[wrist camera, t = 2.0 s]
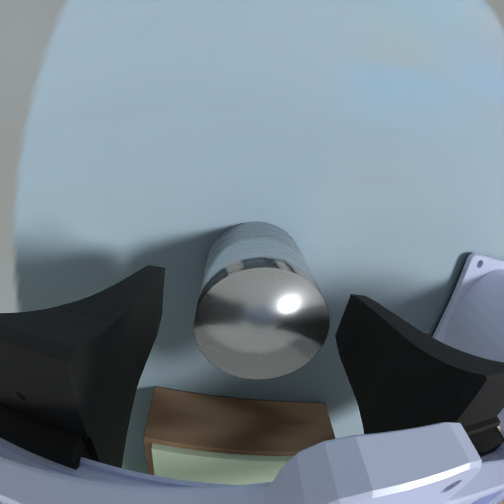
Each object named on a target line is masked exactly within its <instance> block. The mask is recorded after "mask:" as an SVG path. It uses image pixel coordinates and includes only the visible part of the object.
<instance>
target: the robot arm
mask: <svg viewBox="0 0 504 504" xmlns="http://www.w3.org/2000/svg"><path fill="white" fill-rule="evenodd" d="M478 262H479V263H478ZM477 263H478V264H477ZM164 272H165V268H162V267H156V266H150V265H148V266H146V267H144V268H143V269H141V270H139V271H138V272H136V273H134V274H133V275H131V276H129V277H127V278H126V279H124V280H122V281H121V282H119V283H117V284H115V285H113V286H111V287H109V288H107V289H105V290H103V291H101V292H99V293H97V294H94V295H92V296H90V297H87V298H84V299H82V300H79V301H76V302H72V303H69V304H65V305H61V306H58V307H54V308H49V309H44V310H37V311H30V312H20V313H0V504H499V503H501V502H502V501H504V261H503V260H500V259H496V258H492V257H489V256H485V255H481V254H478V253H471V254H470V255H469V256H468V258H467V260H466V262H465V265H464V268H463V270H462V273H461V275H460V278H459V280H458V283H457V285H456V287H455V290H454V292H453V294H452V297H451V299H450V301H449V303H448V306H447V308H446V310H445V312H444V314H443V316H442V318H441V320H440V322H439V325H438V327H437V329H436V331H435V332H434V334H433V336H432V337H430V336H428V335H427V334H425V333H423V332H421V331H420V330H418V329H417V328H415V327H413V326H412V325H410V324H409V323H407V322H405V321H404V320H402V319H401V318H399V317H398V316H396V315H395V314H393V313H392V312H391V311H389V310H388V309H386V308H385V307H383V306H382V305H380V304H378V303H377V302H375V301H374V300H372V299H370V298H368V297H366V296H362V295H353V294H351V296H350V298H349V301H348V304H347V307H346V309H345V312H344V315H343V317H342V320H341V323H340V325H339V328H338V330H337V333H336V335H335V337H336V342H337V347H338V351H339V355H340V358H341V361H342V364H343V366H344V369H345V371H346V374H347V377H348V379H349V382H350V384H351V387H352V389H353V392H354V395H355V397H356V400H357V403H358V406H359V410H360V415H361V419H362V423H363V428H364V434H363V435H351V436H347V437H342V438H337V439H332V440H326V441H323V442H321V443H318V444H316V445H314V446H312V447H309V448H307V449H304V450H302V451H300V452H299V453H297V454H296V455H295V456H294V457H293V458H292V459H291V460H289V461H288V462H287V463H286V464H285V465H284V466H283V467H282V468H281V469H280V471H279V472H278V474H277V476H276V477H275V479H274V480H273V482H264V483H256V484H246V485H228V484H215V483H204V482H195V481H187V480H180V479H173V478H167V477H161V476H155V475H150V474H145V473H140V472H136V471H131V470H127V469H123V468H122V461H123V454H124V447H125V441H126V435H127V430H128V425H129V420H130V415H131V410H132V406H133V401H134V397H135V393H136V389H137V386H138V383H139V379H140V377H141V374H142V372H143V369H144V366H145V364H146V361H147V359H148V356H149V354H150V351H151V349H152V346H153V344H154V341H155V339H156V336H157V332H158V328H159V324H160V320H161V316H162V303H163V286H164ZM499 425H500V427H501V428H502V431H501V432H500V431H499V430H498V428H497V426H499Z"/></svg>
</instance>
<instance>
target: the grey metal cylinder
mask: <svg viewBox="0 0 504 504" xmlns="http://www.w3.org/2000/svg"><path fill="white" fill-rule="evenodd" d="M328 330H329V313H328V309H327V306H326V303H325V301H324V299H323V297H322V295H321V293H320V291H319V289H318V287H317V285H316V282H315V280H314V278H313V276H312V274H311V272H310V270H309V268H308V266H307V264H306V262H305V260H304V258H303V256H302V254H301V252H300V250H299V248H298V246H297V244H296V242H295V241H294V240H293V238H292V237H291V236H290V235H289V234H288V233H287V232H285V231H284V230H282V229H281V228H279V227H277V226H275V225H272V224H269V223H265V222H246V223H242V224H238V225H236V226H233V227H231V228H230V229H228V230H226V231H225V232H224V233H222V234H221V235H220V236H219V237H218V238H217V239H216V241H215V242H214V243H213V245H212V247H211V248H210V251H209V253H208V257H207V262H206V266H205V271H204V276H203V281H202V286H201V290H200V295H199V300H198V305H197V311H196V316H195V321H194V334H195V339H196V342H197V345H198V347H199V349H200V351H201V352H202V354H203V355H204V356H205V357H206V359H207V360H208V361H209V362H210V363H212V364H213V365H214V366H215V367H217V368H218V369H220V370H222V371H224V372H226V373H228V374H231V375H233V376H237V377H241V378H246V379H270V378H276V377H280V376H283V375H286V374H289V373H291V372H293V371H296V370H297V369H299V368H301V367H302V366H304V365H305V364H306V363H308V362H309V361H310V360H311V359H312V358H313V357H314V356H315V355H316V354H317V353H318V352H319V350H320V349H321V347H322V346H323V344H324V342H325V340H326V337H327V334H328Z"/></svg>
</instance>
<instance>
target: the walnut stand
mask: <svg viewBox="0 0 504 504" xmlns="http://www.w3.org/2000/svg"><path fill="white" fill-rule="evenodd" d="M143 439H144V447H145V454H146V461H147V467H148V474H150V475H155V476H161V477H167V478H173V479H180V480H187V481H195V482H204V483H215V484H228V485H246V484H256V483H264V482H273V480H274V479H275V477H276V476H277V474H278V472H279V471H280V469H281V468H282V467H283V466H284V465H285V464H286V463H287V462H288V461H289V460H291V459H292V458H293V457H294V456H295V455H296V454H297V453H299V452H300V451H302V450H304V449H307V448H309V447H312V446H314V445H316V444H318V443H321V442H323V441H326V440H332V439H335V436H334V432H333V429H332V425H331V422H330V418H329V415H328V411H327V408H326V404H325V403H302V402H278V401H263V400H250V399H239V398H229V397H220V396H212V395H205V394H197V393H191V392H184V391H178V390H172V389H166V388H161V387H155V390H154V394H153V398H152V402H151V406H150V410H149V414H148V418H147V422H146V427H145V431H144V435H143Z"/></svg>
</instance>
